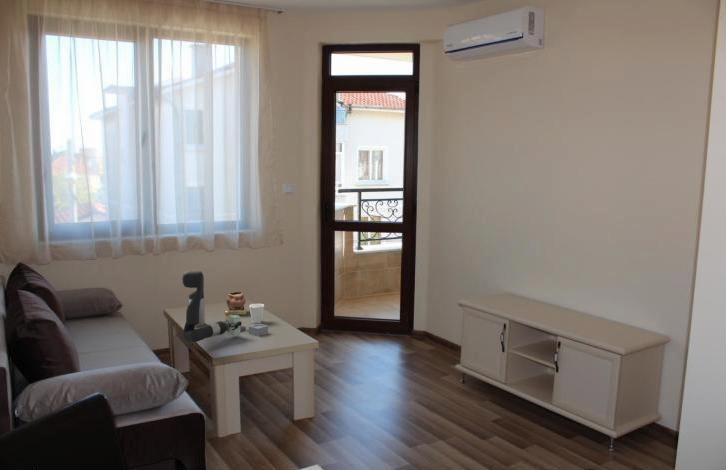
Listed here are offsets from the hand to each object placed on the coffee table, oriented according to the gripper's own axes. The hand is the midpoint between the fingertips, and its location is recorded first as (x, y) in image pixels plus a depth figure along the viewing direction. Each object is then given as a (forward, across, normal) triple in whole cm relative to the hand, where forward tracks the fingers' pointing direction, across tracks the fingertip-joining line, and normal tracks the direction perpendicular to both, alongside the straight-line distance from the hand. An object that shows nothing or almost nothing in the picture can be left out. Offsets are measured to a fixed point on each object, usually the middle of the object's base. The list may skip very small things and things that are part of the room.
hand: (238, 322), depth 365 cm
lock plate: (+6, +12, +8) cm, 16 cm away
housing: (+10, -6, +8) cm, 14 cm away
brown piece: (+10, +13, +6) cm, 17 cm away
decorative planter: (+35, +41, +8) cm, 55 cm away
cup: (+27, +13, +8) cm, 31 cm away
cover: (-3, 0, +6) cm, 7 cm away
